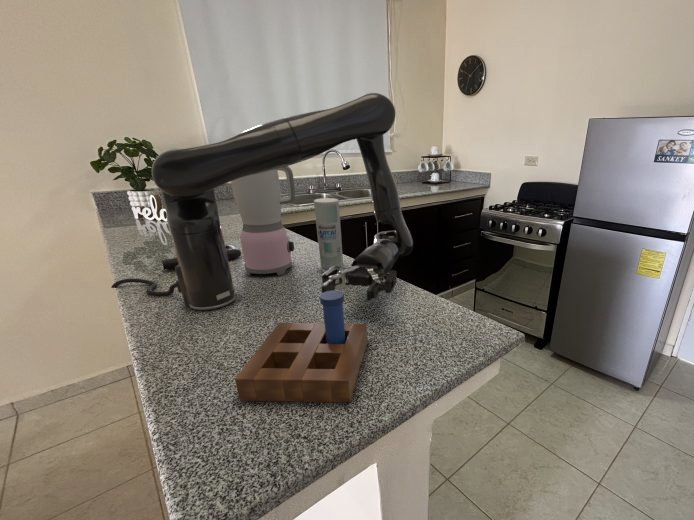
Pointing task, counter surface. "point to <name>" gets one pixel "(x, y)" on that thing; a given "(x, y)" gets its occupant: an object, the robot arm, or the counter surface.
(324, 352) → the holder
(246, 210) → the blender
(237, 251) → the door handle
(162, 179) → the robot arm
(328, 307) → the blue peg
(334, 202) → the spray can
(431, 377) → the counter surface
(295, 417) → the counter surface
